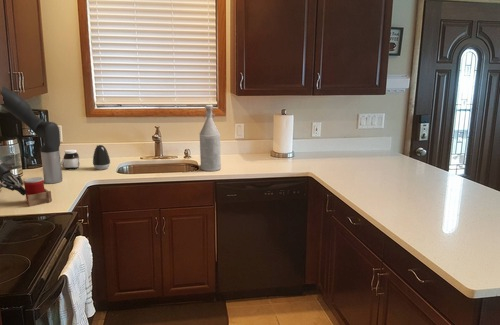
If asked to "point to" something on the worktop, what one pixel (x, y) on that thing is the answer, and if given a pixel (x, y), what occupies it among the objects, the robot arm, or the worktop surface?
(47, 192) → the v-block stop
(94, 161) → the black egg shaped device
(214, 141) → the grey bottle
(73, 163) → the spread jar
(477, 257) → the worktop surface
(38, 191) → the canned food
